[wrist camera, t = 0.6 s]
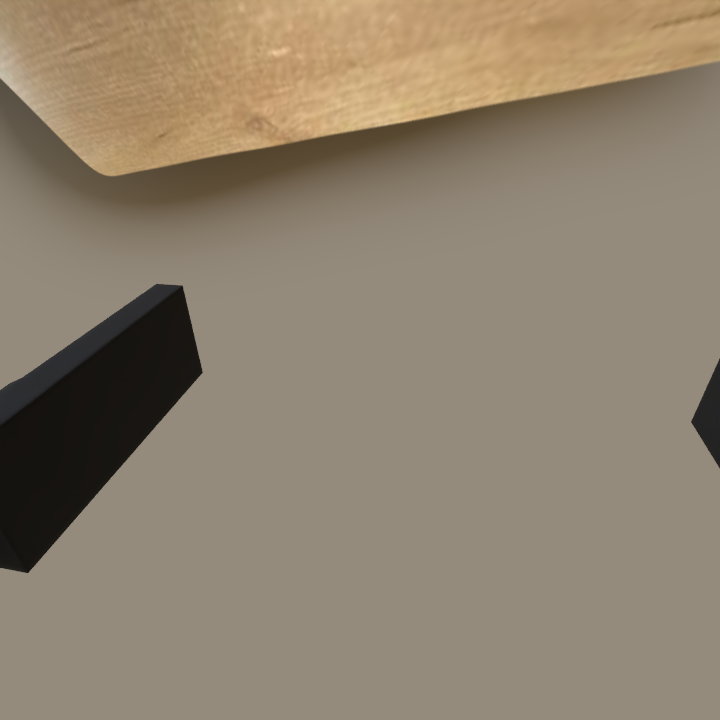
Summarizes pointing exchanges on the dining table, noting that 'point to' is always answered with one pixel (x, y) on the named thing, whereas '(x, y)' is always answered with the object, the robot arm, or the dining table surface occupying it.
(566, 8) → the dining table surface
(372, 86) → the dining table surface
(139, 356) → the robot arm
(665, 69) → the dining table surface
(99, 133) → the dining table surface
